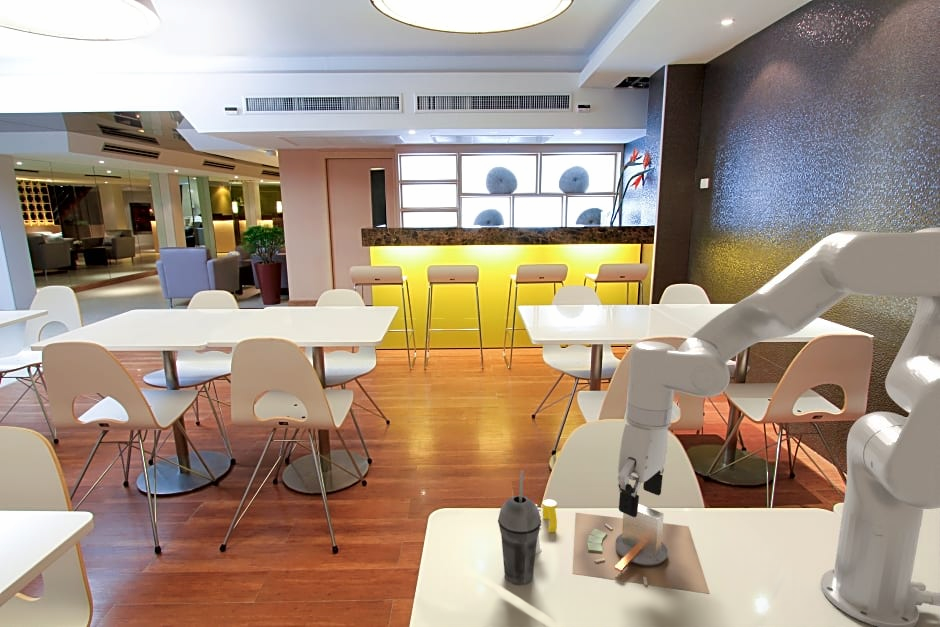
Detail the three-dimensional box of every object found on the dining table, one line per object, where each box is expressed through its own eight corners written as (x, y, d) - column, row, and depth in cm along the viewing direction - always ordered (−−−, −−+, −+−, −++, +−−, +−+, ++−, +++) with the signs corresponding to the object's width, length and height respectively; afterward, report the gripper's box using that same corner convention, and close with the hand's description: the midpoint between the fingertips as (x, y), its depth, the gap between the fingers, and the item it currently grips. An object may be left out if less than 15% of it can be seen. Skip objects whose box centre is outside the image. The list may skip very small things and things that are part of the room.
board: (688, 531, 102) (688, 524, 102) (709, 601, 83) (710, 593, 83) (575, 517, 107) (575, 510, 106) (572, 581, 88) (572, 572, 88)
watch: (560, 538, 100) (560, 511, 99) (546, 539, 100) (546, 512, 98) (552, 521, 106) (552, 494, 105) (538, 521, 105) (539, 495, 104)
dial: (629, 529, 100) (631, 491, 98) (675, 549, 94) (678, 508, 92) (593, 563, 90) (595, 521, 89) (642, 588, 84) (645, 543, 83)
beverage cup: (492, 590, 86) (492, 480, 82) (504, 563, 93) (505, 461, 89) (534, 601, 84) (536, 488, 80) (543, 572, 90) (546, 467, 87)
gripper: (649, 395, 98) (641, 477, 101) (604, 420, 85) (597, 513, 88) (689, 406, 93) (679, 492, 96) (647, 434, 80) (638, 532, 83)
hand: (640, 502), depth 92 cm, fingers open, 9 cm apart
